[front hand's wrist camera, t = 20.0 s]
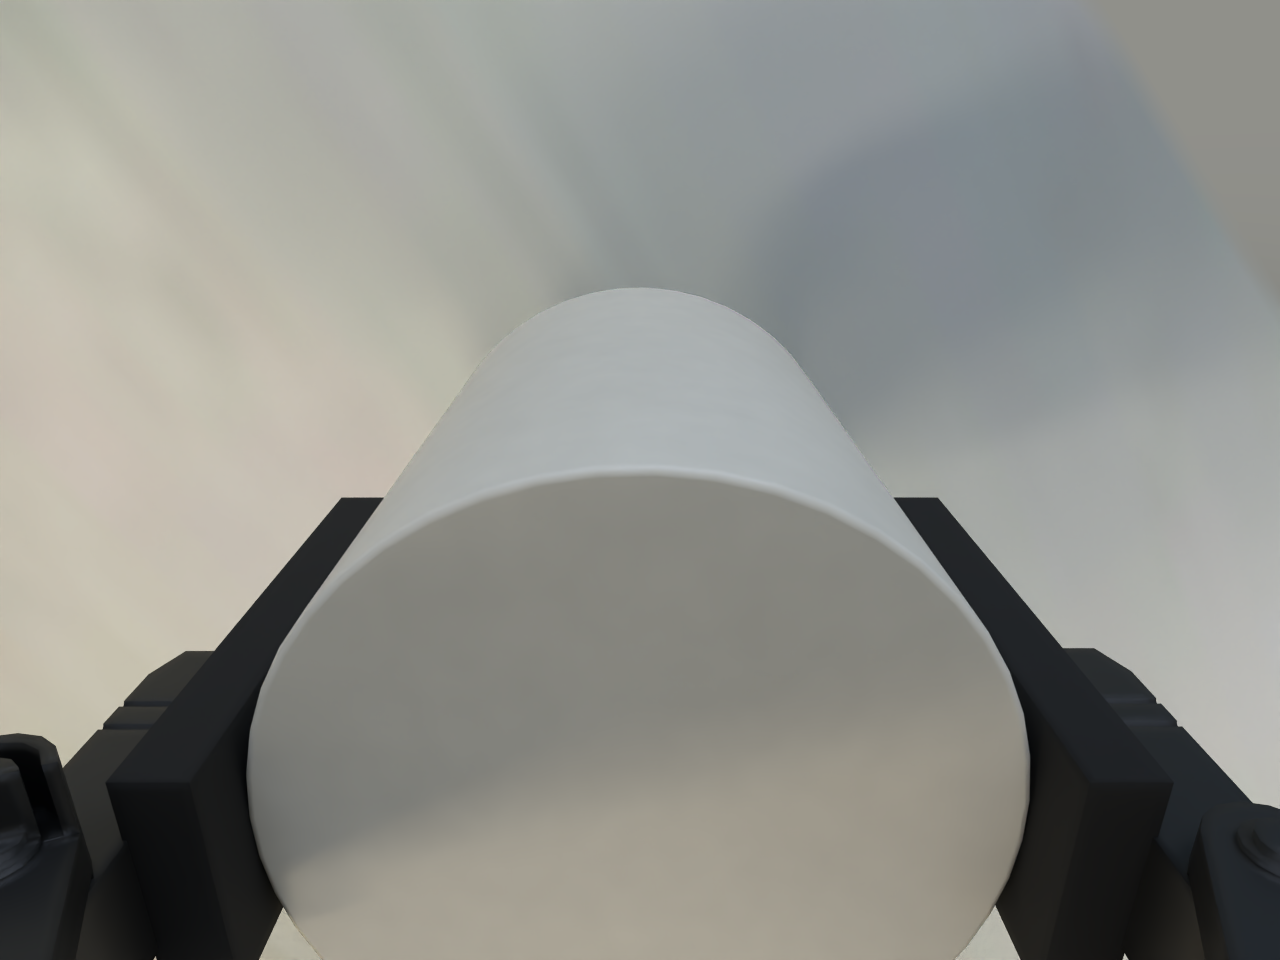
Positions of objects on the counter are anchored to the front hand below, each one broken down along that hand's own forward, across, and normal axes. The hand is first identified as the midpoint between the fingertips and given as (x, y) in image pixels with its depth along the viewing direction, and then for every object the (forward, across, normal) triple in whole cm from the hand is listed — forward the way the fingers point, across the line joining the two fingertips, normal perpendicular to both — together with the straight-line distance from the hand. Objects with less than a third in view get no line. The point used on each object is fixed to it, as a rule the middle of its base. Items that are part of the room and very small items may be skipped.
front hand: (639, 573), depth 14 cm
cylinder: (+4, 0, 0) cm, 4 cm away
